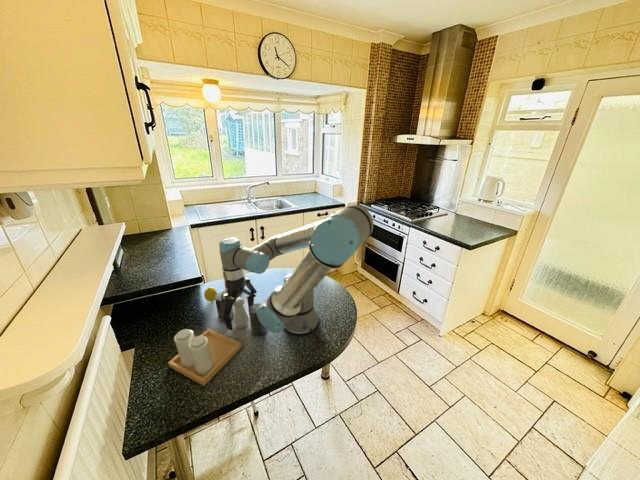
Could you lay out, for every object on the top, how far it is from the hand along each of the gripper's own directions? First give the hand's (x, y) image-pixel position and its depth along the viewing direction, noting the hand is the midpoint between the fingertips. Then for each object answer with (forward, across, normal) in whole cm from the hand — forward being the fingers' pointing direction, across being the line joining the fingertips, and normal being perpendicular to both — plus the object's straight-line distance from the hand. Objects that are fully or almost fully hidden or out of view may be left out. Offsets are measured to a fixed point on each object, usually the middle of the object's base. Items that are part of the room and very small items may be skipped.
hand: (241, 318), depth 109 cm
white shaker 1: (+2, +23, -3) cm, 23 cm away
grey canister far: (+3, 0, -9) cm, 9 cm away
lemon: (+4, -6, -24) cm, 25 cm away
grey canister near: (+3, 0, +9) cm, 10 cm away
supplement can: (+3, -18, -21) cm, 28 cm away
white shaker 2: (+2, +23, +4) cm, 23 cm away
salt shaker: (+3, 0, 0) cm, 3 cm away
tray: (+3, +19, 0) cm, 19 cm away
